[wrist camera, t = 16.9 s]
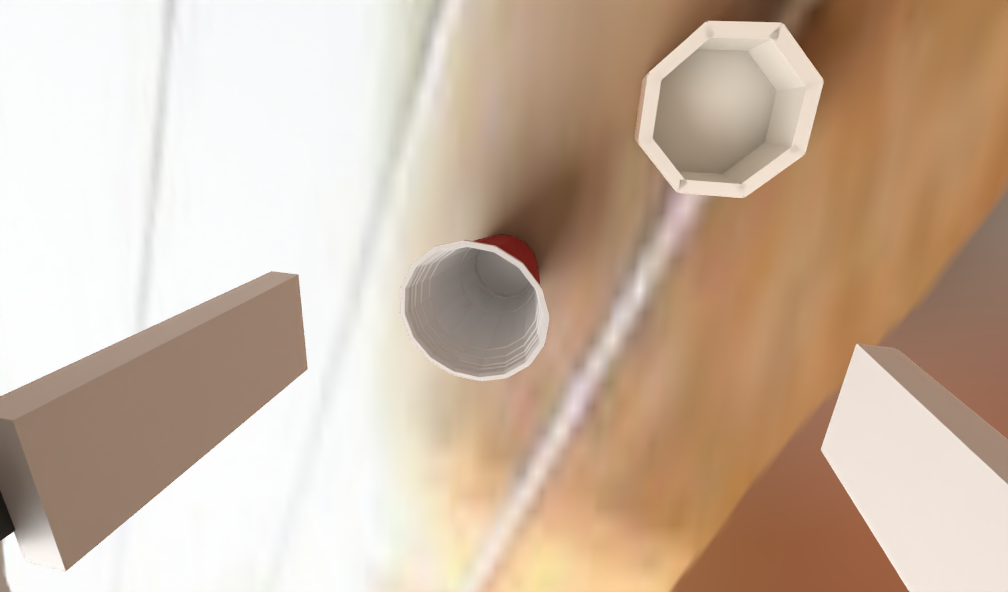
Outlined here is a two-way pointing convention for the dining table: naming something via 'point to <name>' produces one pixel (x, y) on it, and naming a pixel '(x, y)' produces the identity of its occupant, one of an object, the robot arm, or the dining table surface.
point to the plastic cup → (476, 307)
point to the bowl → (728, 108)
